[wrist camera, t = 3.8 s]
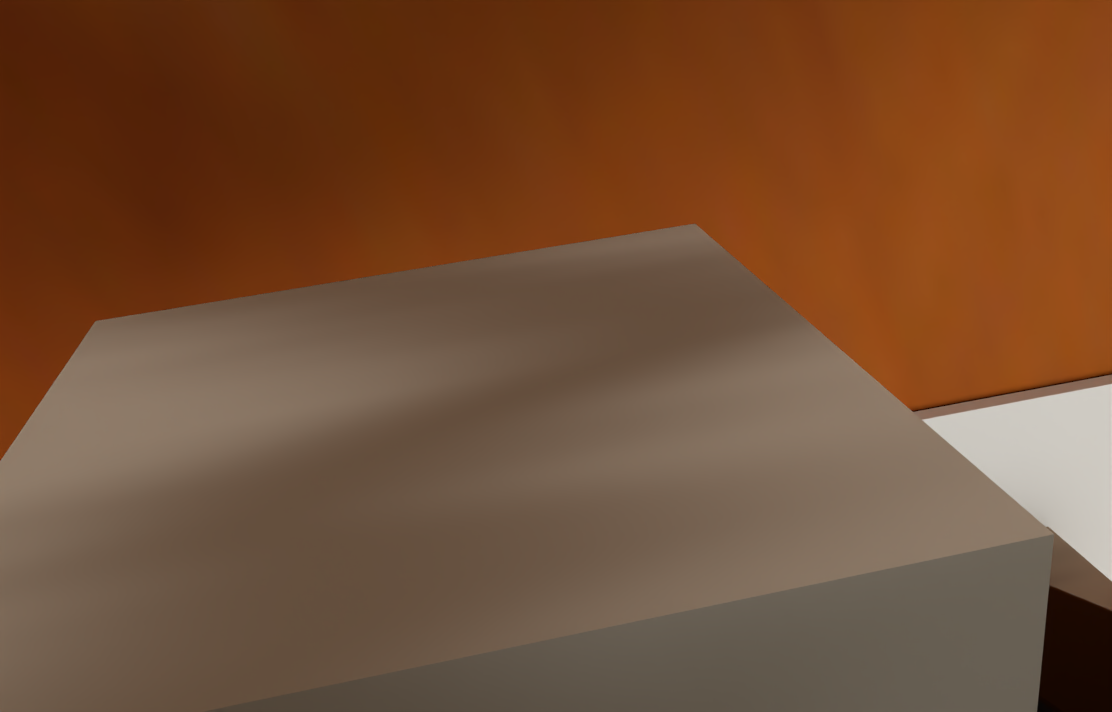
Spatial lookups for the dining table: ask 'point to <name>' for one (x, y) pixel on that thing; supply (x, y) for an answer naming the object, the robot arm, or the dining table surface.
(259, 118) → the dining table surface
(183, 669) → the cream block
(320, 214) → the dining table surface
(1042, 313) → the dining table surface
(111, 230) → the dining table surface
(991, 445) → the board
